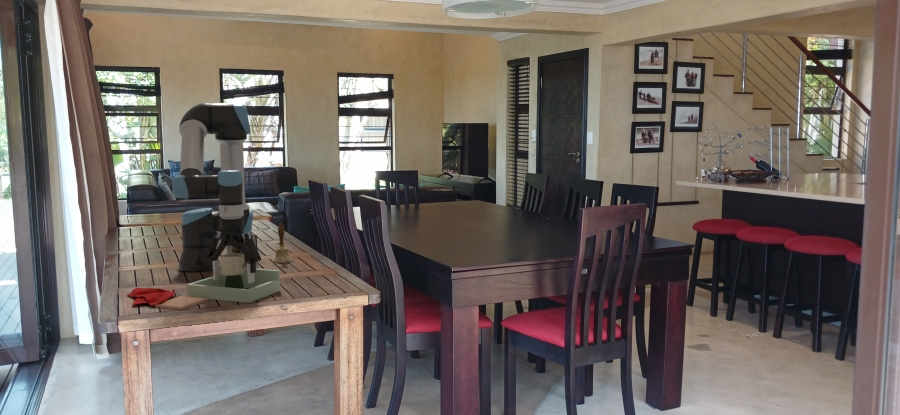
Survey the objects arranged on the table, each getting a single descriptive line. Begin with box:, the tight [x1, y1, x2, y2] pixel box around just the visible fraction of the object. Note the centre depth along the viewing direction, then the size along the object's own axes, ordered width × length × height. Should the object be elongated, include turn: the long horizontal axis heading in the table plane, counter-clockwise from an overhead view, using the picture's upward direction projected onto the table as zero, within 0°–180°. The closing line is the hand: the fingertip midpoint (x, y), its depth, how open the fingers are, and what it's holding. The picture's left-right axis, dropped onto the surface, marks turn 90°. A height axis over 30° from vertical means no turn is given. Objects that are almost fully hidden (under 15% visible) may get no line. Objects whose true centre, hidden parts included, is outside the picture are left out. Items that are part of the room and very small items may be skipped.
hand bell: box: [271, 222, 294, 264], centre depth 278 cm, size 8×8×16 cm
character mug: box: [221, 253, 245, 289], centre depth 222 cm, size 11×7×13 cm, turn 32°
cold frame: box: [186, 265, 281, 304], centre depth 222 cm, size 24×17×7 cm
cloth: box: [126, 287, 176, 306], centre depth 216 cm, size 26×14×2 cm, turn 29°
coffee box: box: [226, 234, 259, 269], centre depth 244 cm, size 9×6×16 cm
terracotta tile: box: [154, 295, 209, 311], centre depth 210 cm, size 10×12×1 cm
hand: (233, 281), depth 222 cm, fingers open, 13 cm apart
